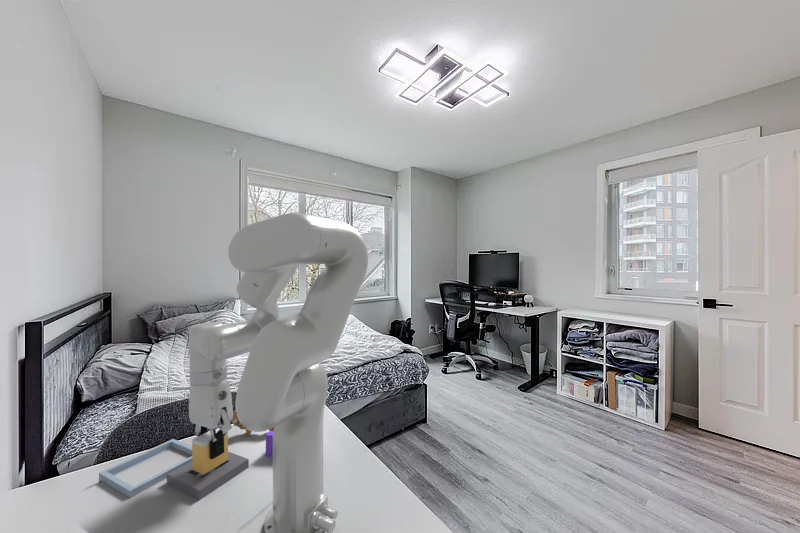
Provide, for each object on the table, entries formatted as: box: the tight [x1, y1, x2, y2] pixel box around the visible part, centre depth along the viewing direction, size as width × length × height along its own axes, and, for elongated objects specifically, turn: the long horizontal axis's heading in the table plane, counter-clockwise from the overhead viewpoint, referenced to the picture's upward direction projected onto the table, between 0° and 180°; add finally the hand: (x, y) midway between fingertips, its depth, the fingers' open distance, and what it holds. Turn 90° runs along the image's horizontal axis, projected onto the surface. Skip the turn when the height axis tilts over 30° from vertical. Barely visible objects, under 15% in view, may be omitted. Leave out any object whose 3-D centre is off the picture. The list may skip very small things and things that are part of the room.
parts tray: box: [98, 438, 192, 499], centre depth 78 cm, size 14×16×2 cm
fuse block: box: [166, 451, 250, 501], centre depth 75 cm, size 12×12×3 cm
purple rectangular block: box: [265, 430, 273, 458], centre depth 88 cm, size 12×7×7 cm, turn 174°
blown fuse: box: [191, 428, 229, 475], centre depth 75 cm, size 4×6×7 cm, turn 154°
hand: (210, 452), depth 75 cm, fingers closed on blown fuse, 4 cm apart
